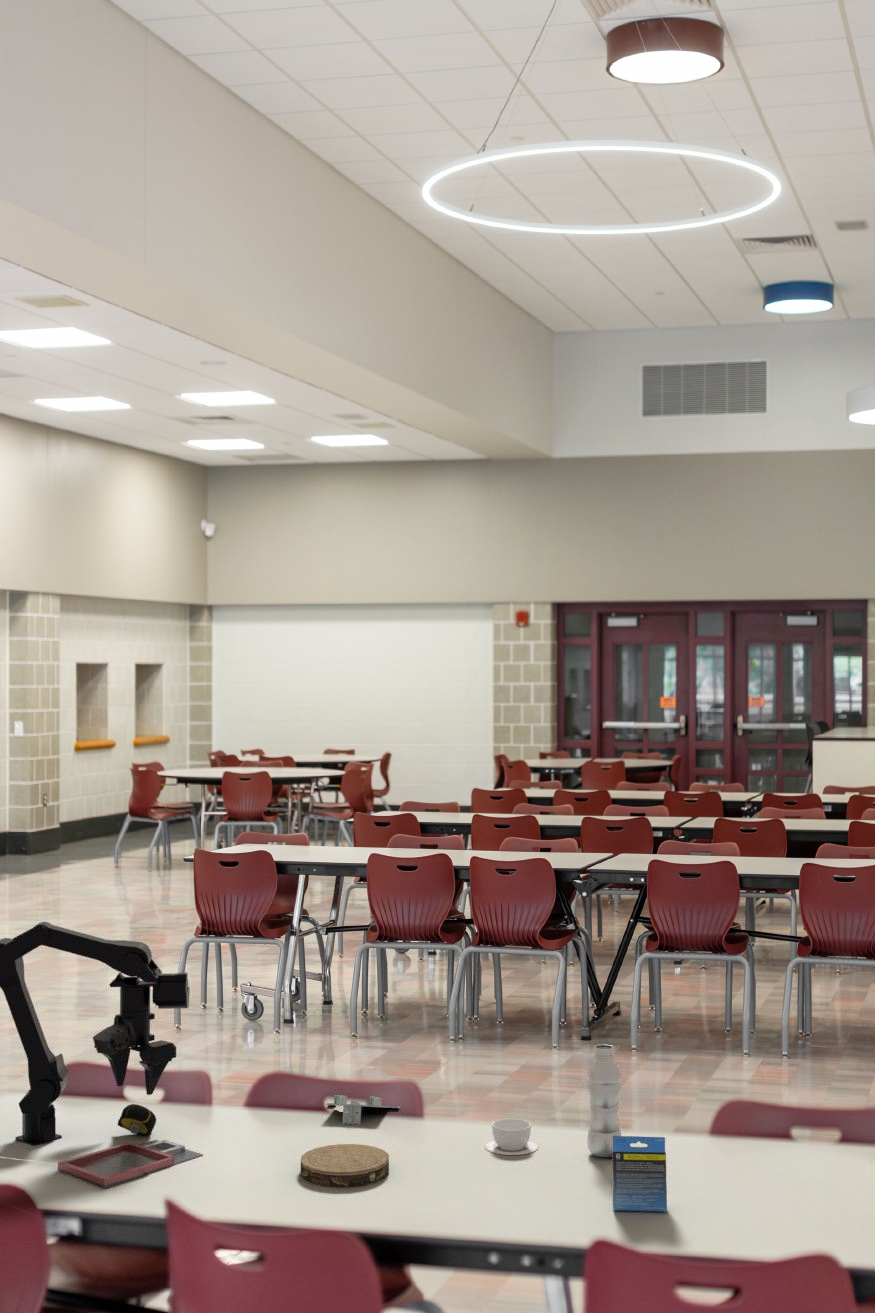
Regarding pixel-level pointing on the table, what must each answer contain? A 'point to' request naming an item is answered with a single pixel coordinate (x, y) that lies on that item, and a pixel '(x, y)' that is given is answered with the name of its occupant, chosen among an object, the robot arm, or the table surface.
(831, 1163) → the table surface
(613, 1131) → the plastic bottle
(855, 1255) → the table surface
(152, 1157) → the fitting plate
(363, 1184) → the wood slice
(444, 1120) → the table surface
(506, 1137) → the teacup
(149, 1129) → the tape measure
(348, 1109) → the metal bracket
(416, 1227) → the table surface
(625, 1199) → the label tape cartridge
